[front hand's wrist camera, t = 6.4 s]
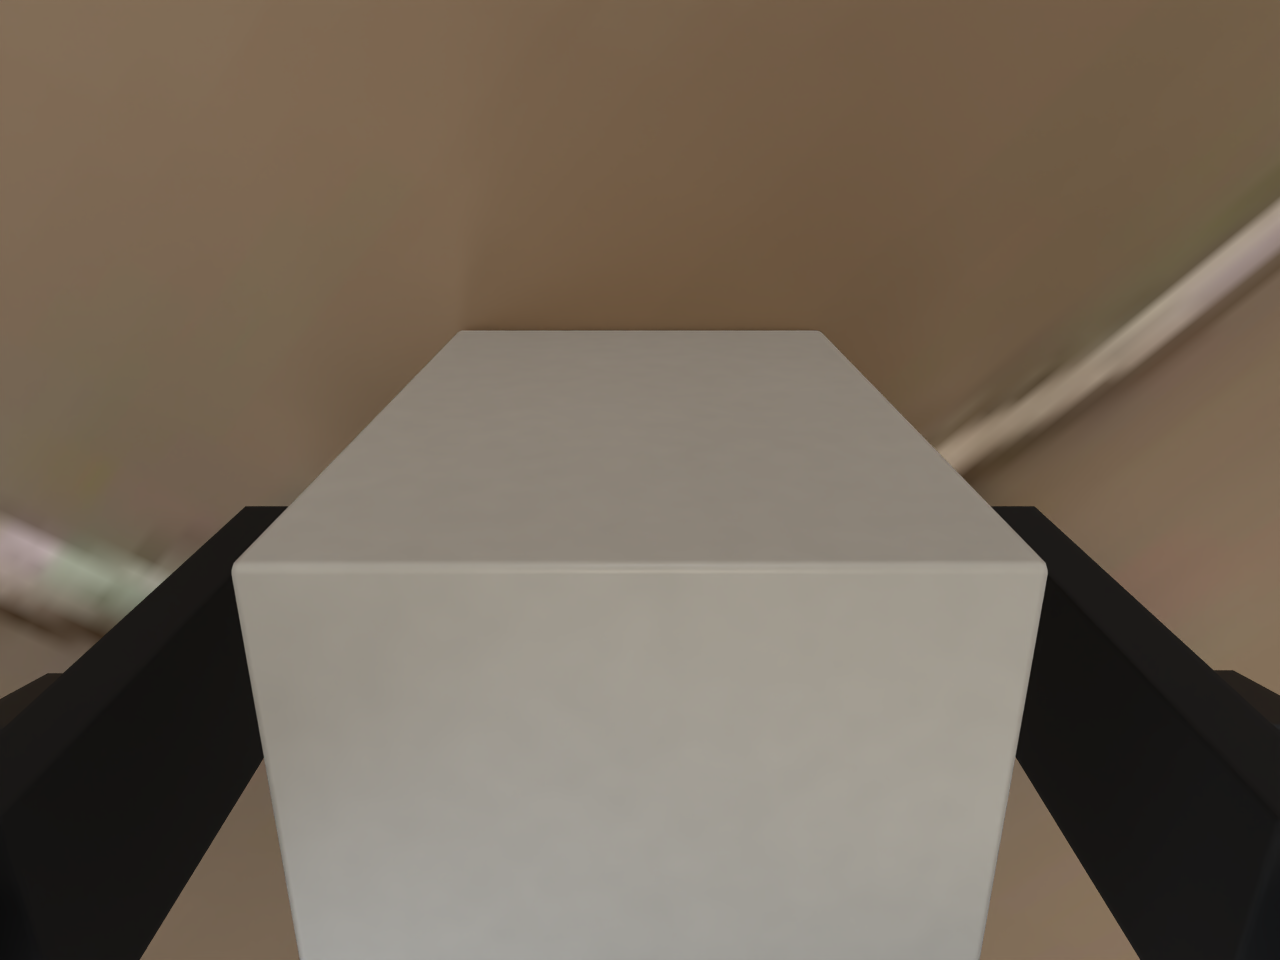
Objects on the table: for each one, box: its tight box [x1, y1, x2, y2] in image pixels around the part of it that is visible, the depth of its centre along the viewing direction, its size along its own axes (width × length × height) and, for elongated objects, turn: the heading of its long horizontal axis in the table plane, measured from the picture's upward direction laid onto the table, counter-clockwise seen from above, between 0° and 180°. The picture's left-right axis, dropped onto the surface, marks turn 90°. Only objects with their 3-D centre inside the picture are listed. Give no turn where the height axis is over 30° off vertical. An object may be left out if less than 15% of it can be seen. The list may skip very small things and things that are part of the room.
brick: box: [232, 331, 1048, 960], centre depth 11 cm, size 6×7×8 cm
